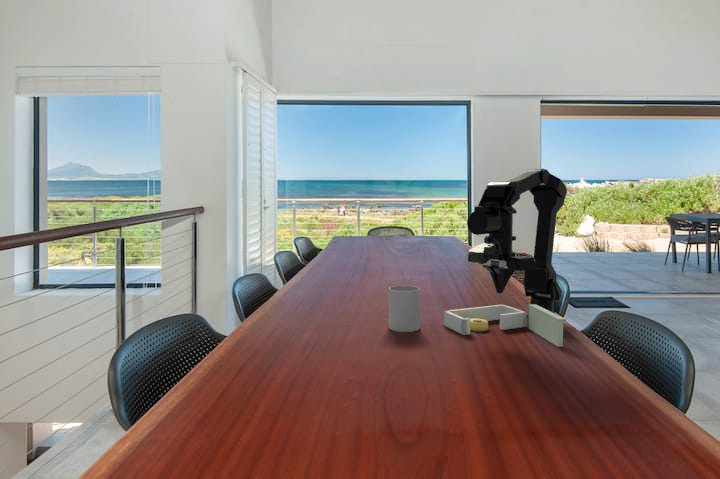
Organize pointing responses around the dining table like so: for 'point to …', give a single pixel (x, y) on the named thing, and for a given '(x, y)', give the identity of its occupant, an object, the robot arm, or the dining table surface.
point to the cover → (546, 324)
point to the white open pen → (485, 317)
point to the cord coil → (478, 325)
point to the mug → (404, 308)
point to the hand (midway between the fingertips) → (499, 293)
